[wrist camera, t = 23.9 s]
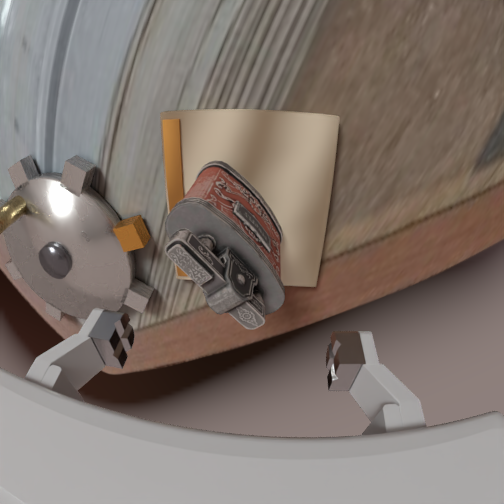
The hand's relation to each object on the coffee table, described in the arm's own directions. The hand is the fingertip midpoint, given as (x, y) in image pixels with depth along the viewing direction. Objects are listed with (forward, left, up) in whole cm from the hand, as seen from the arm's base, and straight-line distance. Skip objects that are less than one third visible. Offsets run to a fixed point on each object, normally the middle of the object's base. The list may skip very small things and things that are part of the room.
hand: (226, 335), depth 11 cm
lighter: (+1, 0, -13) cm, 13 cm away
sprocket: (+18, +5, -13) cm, 23 cm away
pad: (0, 0, -13) cm, 13 cm away
